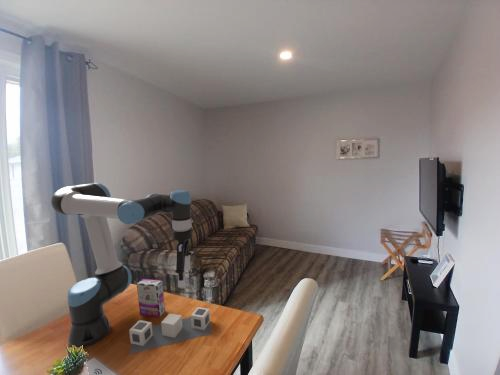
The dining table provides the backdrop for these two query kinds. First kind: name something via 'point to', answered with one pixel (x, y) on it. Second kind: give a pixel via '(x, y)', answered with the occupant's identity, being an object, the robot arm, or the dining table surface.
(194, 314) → the marked block
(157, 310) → the candy bar box
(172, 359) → the dining table surface
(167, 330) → the plain block
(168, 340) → the grey mat
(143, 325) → the marked block
